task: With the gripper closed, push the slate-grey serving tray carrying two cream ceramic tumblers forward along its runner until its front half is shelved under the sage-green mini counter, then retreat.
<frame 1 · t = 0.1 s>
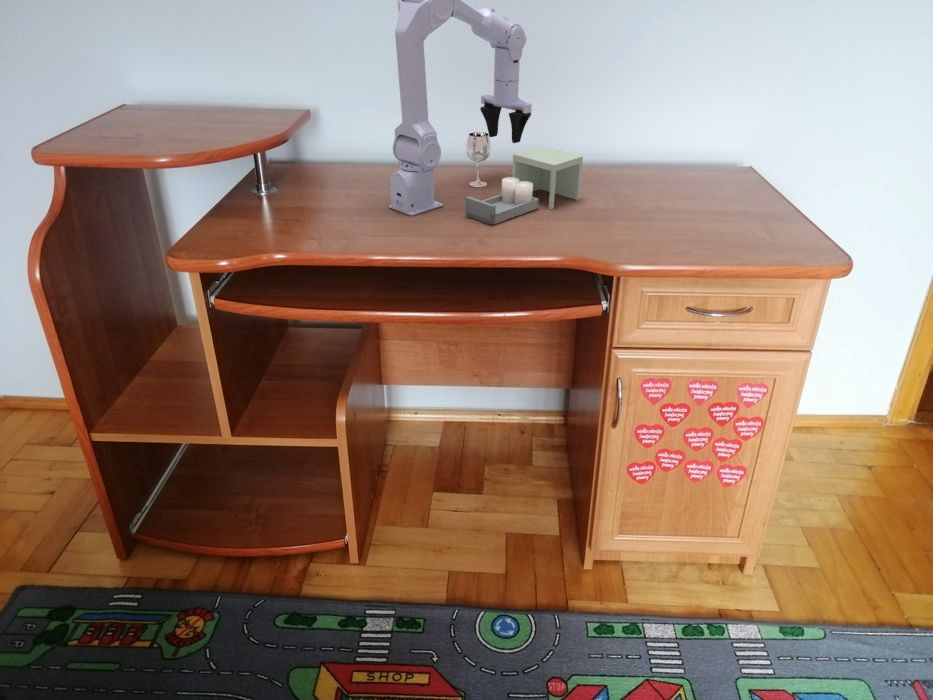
hand: (504, 139, 169), 10 cm above the table, fingers open, 7 cm apart
counter: (545, 197, 163), on the table
tray: (502, 199, 152), point 3 cm above the table, slide at 0.0 cm
wineglass: (478, 185, 171), on the table
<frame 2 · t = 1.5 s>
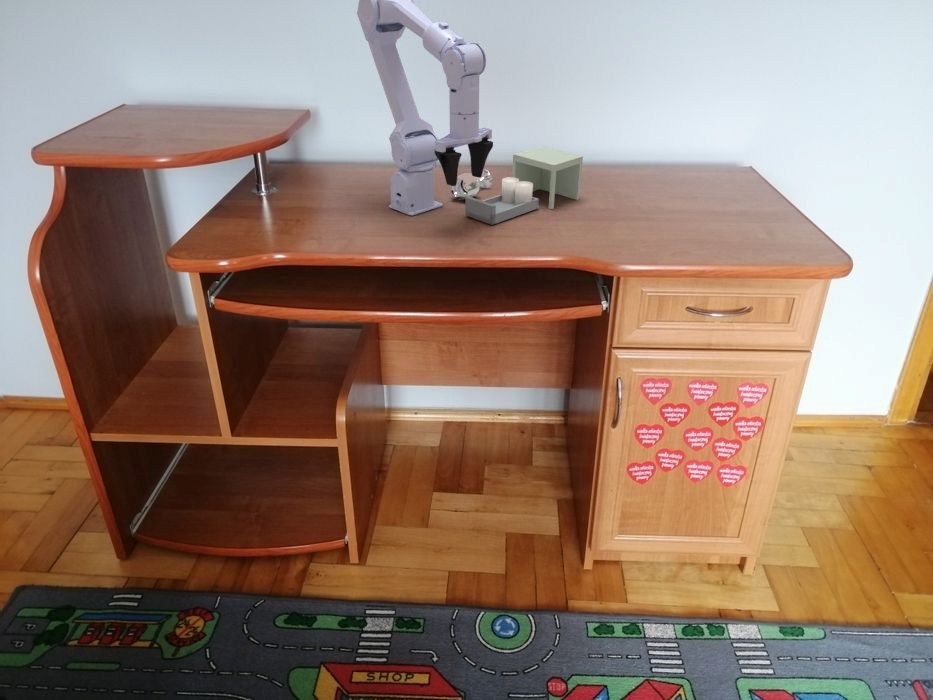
hand: (464, 180, 143), 9 cm above the table, fingers open, 7 cm apart
wineglass: (484, 178, 168), point 2 cm above the table
everything else where it was.
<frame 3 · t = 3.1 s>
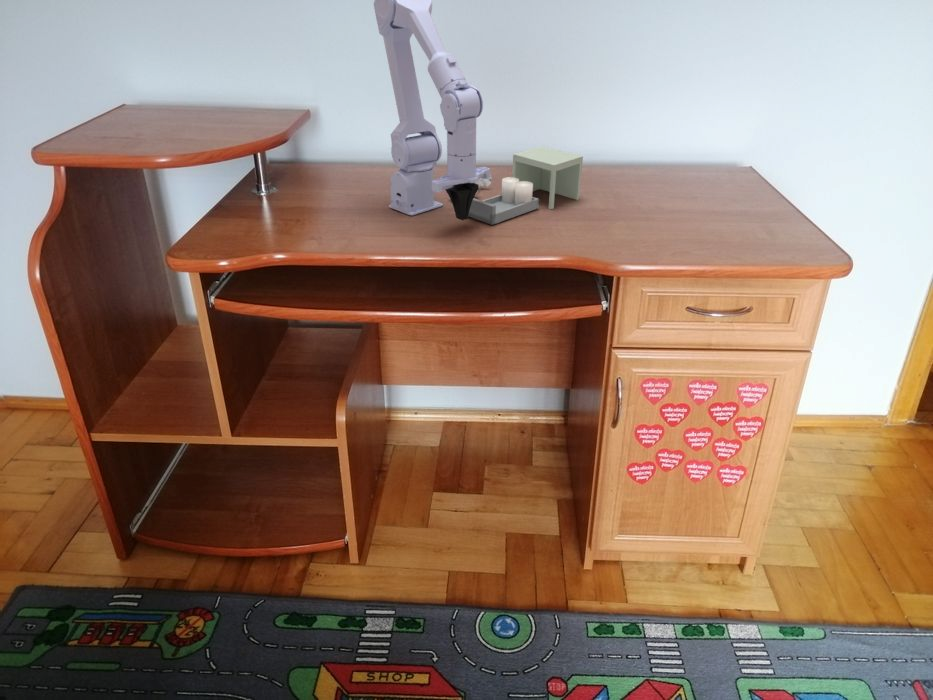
hand: (461, 218, 145), 2 cm above the table, fingers closed
nothing on the table moved.
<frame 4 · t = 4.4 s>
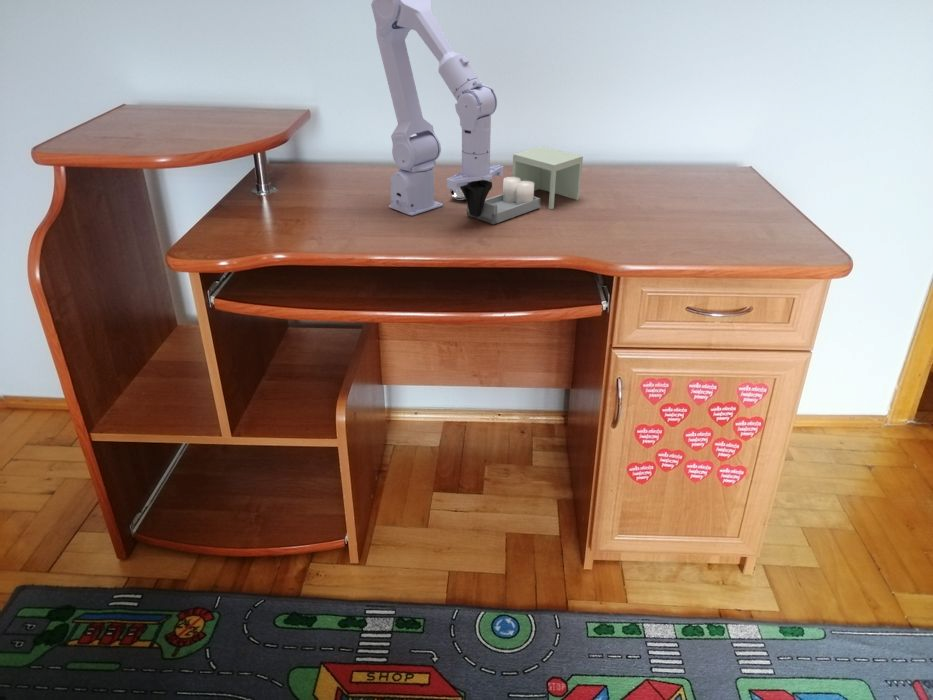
hand: (475, 215, 148), 2 cm above the table, fingers closed
tray: (504, 198, 153), point 3 cm above the table, slide at 0.4 cm, touching gripper
everything else where it was.
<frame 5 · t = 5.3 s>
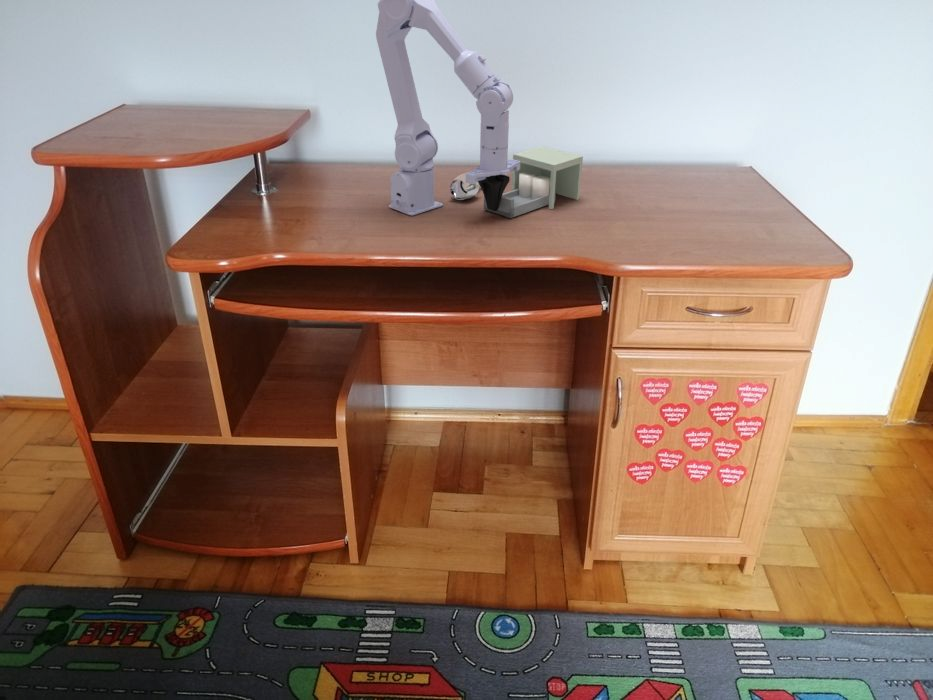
hand: (492, 209, 151), 2 cm above the table, fingers closed
tray: (520, 193, 156), point 3 cm above the table, slide at 5.7 cm, touching gripper
everything else where it was.
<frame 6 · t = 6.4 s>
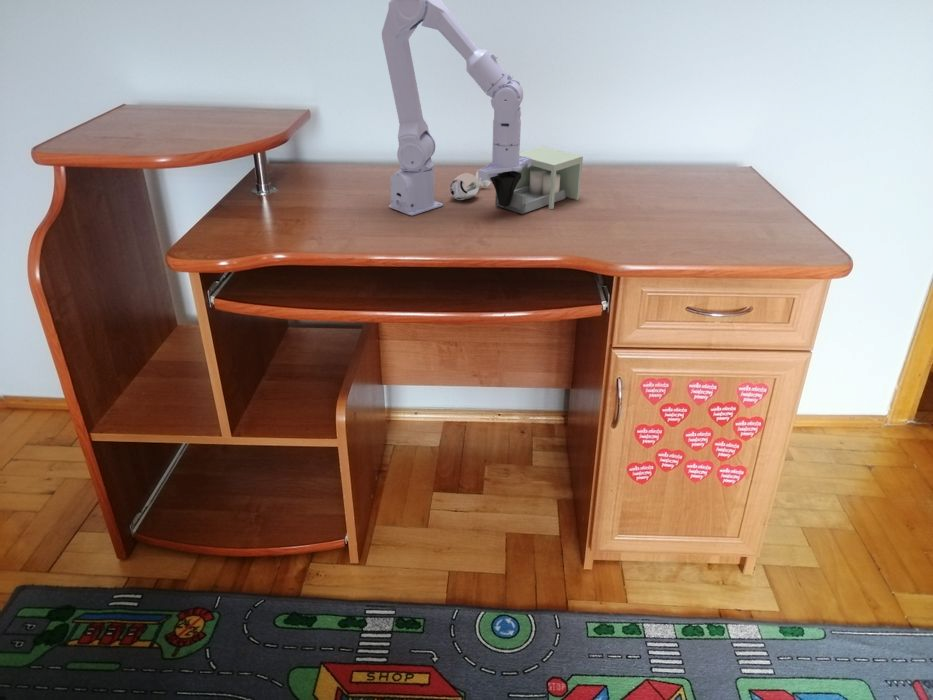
hand: (504, 205, 153), 2 cm above the table, fingers closed
tray: (531, 189, 158), point 3 cm above the table, slide at 9.4 cm, touching gripper
everything else where it was.
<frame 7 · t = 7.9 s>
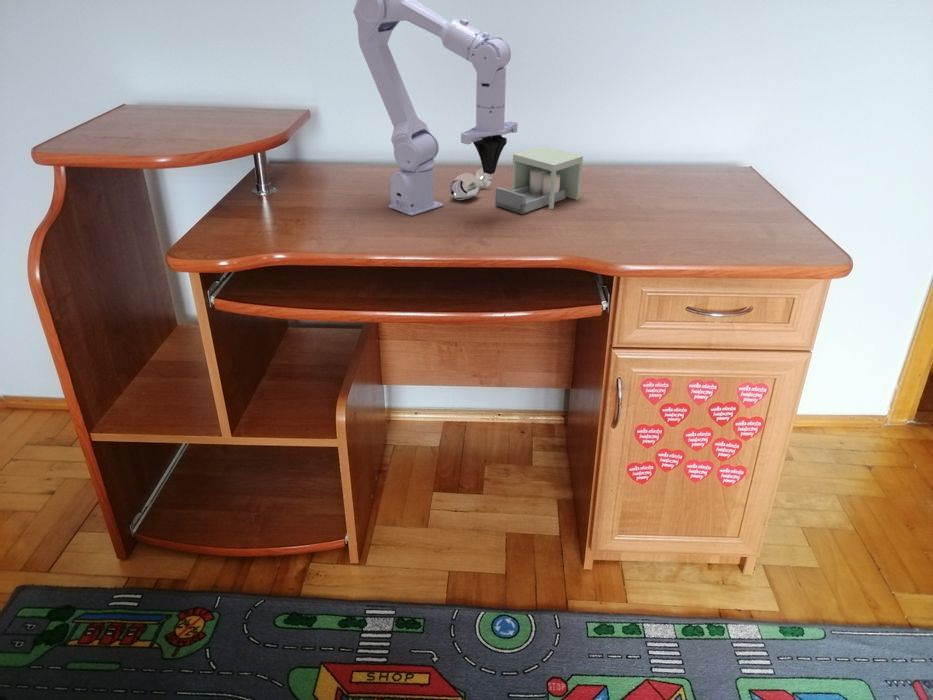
hand: (489, 172, 146), 10 cm above the table, fingers closed
tray: (531, 189, 158), point 3 cm above the table, slide at 9.4 cm
everything else where it was.
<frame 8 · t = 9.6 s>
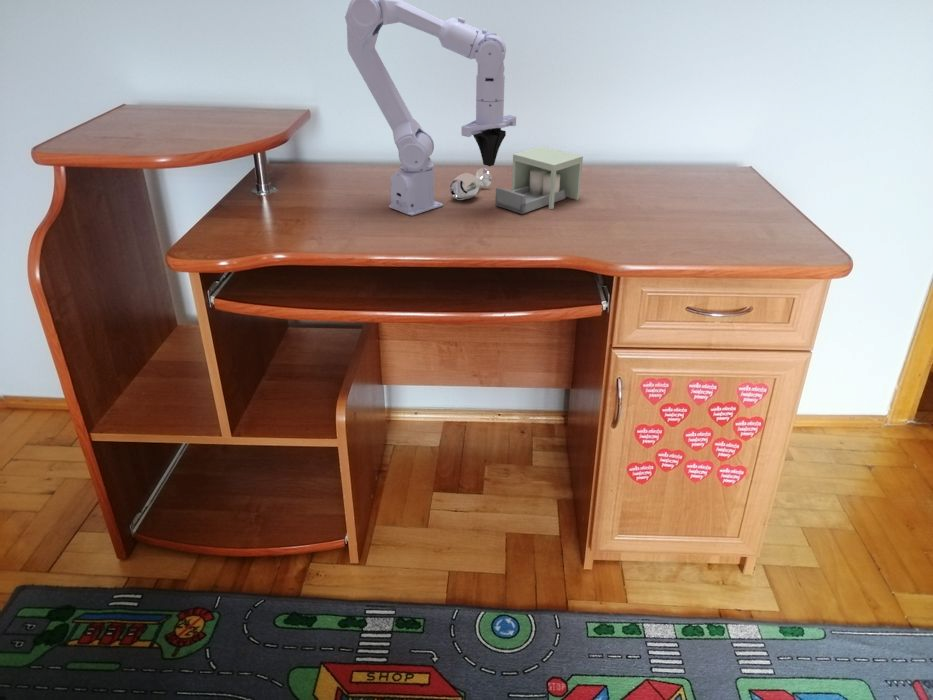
hand: (488, 164, 151), 10 cm above the table, fingers closed
nothing on the table moved.
at the end: tray slide at 9.4 cm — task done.
